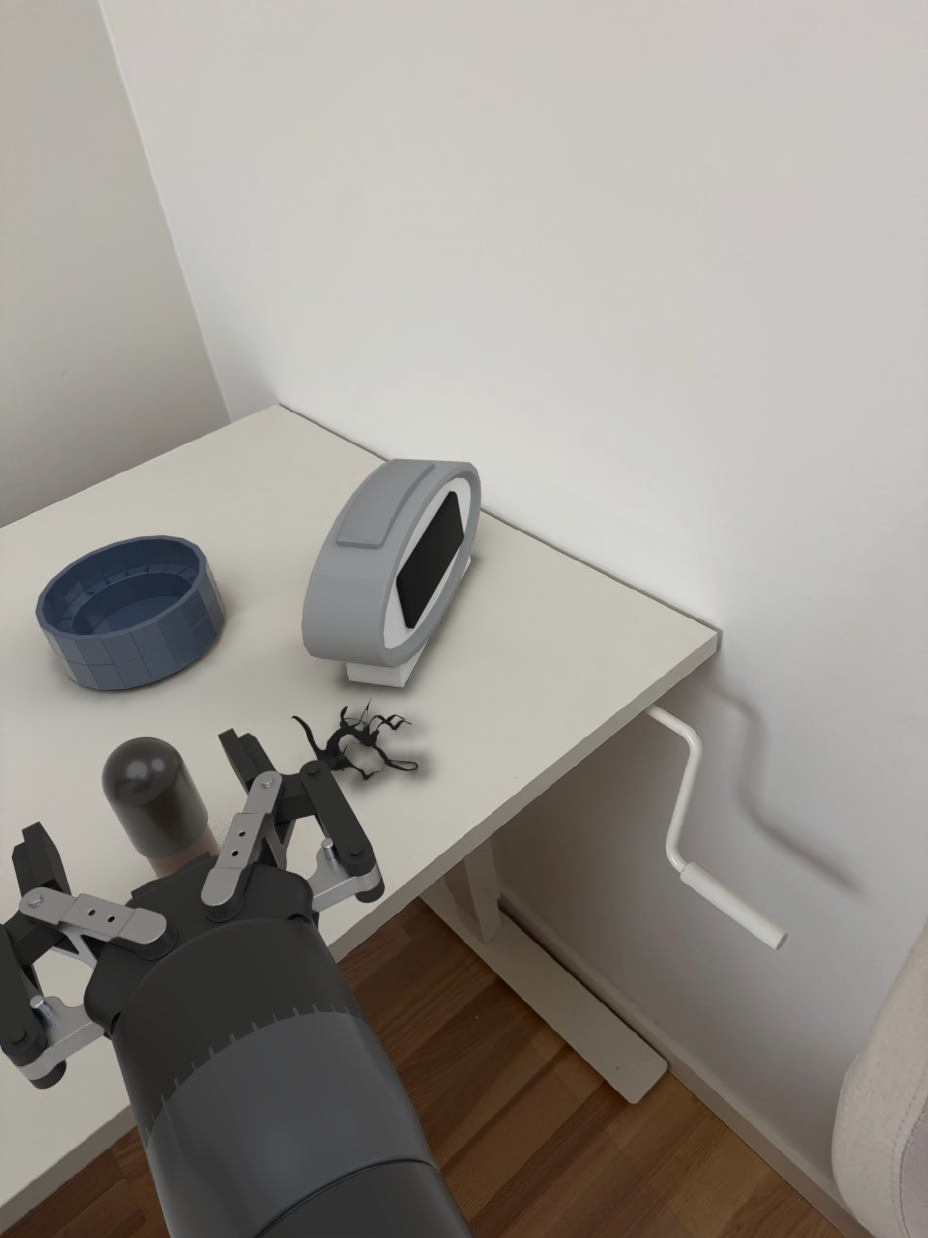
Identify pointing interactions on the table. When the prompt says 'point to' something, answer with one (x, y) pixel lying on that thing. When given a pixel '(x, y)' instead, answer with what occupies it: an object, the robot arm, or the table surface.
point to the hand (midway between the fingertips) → (137, 790)
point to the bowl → (131, 612)
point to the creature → (332, 750)
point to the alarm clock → (391, 567)
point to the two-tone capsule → (157, 804)
